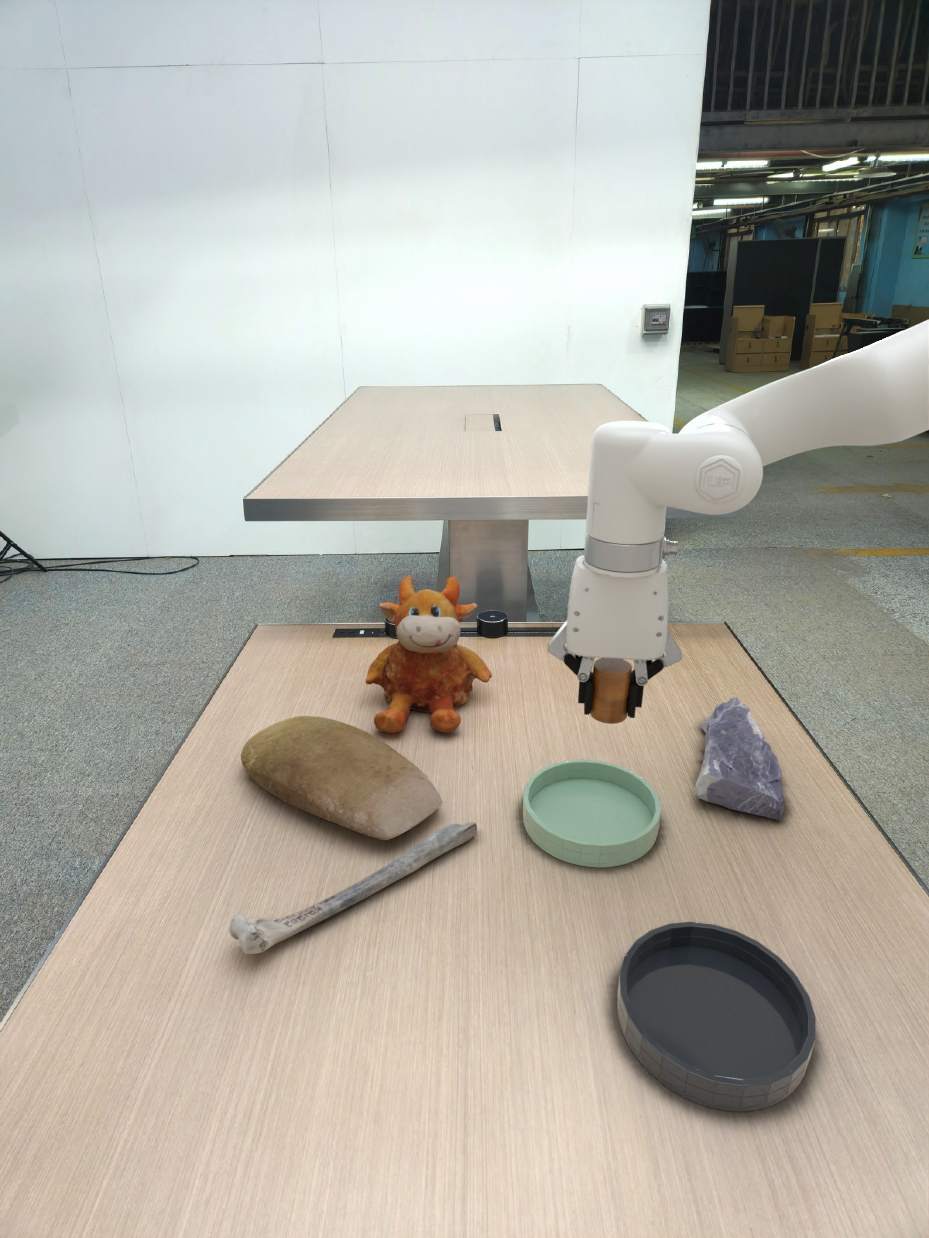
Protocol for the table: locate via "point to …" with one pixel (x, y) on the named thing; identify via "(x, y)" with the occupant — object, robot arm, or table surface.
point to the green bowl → (591, 813)
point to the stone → (340, 775)
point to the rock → (739, 764)
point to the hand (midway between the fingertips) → (608, 708)
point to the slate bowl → (715, 1016)
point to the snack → (610, 690)
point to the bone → (346, 893)
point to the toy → (426, 658)
